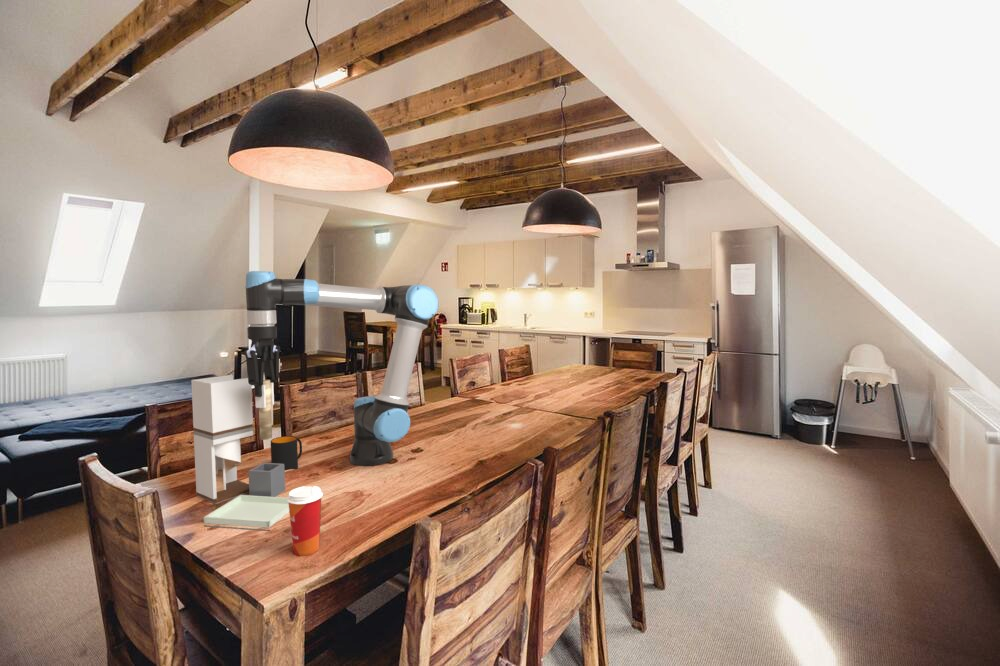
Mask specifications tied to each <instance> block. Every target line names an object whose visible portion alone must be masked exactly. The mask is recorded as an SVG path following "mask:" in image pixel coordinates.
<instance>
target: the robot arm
mask: <svg viewBox="0 0 1000 666" xmlns="http://www.w3.org/2000/svg"><path fill="white" fill-rule="evenodd" d="M276 277H277V276H276V274H275V272H274V271H267V270H251V271H248V272H247V273H246V275H245V288H244V289H245V298H246V300H245V301H246V321H247V322H246V324H247V325H249V326H248V327H246V329H247V339H248V340H250V341H251V344H250V348H249V349H245V350H244V351H243V353H244V356H245V359H246V362H245V363H246V370H247V371H246V372H247V378H248V383H249V384H250V385H252V386H254V396H255V397H254V398H255V400H254V401H255V408H256V409H259V408H266V391H265V385H263V380H270V389H271V406H274V405H275V394H274V391H275V389H274V388H275V384H274V383H277V382H278V379H279V376H280V372H279V371H280V370H279V369H280V352H281V351H280V350H281V346H280V345H275V342H274V340H276V339H277V337H278V332H277V331H278V329H277V326H276V324H277V305H295V306H312V307H313V306H315V307H326V308H340V309H341V308H342V309H353V310H356V309H357V310H358V309H359V310H369V311H375V312H376V313H377V314H384V315H385V314H386V315H391V316H395V317H394V321H395V322H396V324H397V328H396V329H395V330H396V331H395V335H394V339H393V343H392V348H391V350H390V351H391V352H390V355H389V359H388V362H387V363H388V364H387V367H386V371H385V376H384V380H383V383H382V388H381V392H380V393H379V394H377V395H369V396H362V397H357V398H355V400H354V403H353V417H354V420H353V423H354V440H353V444H352V448H351V449H350V453H349V454H350V455H349V462H350V463H351V464H352V465H355V466H363V467H367V466H369V467H370V466H378V465H383V464H386V463H388V462H390V461H392V460H393V458H394V450H393V447H392V444H391V443H395V442H397V441H400V440H402V438H404V437H405V436H406V435H407V434H408V432H409V429H410V427H411V418H410V415H409V413H408V411H409V407H410V403H409V401H408V399H407V394H408V391H409V387H410V383H411V379H412V374H413V370H414V366H415V361H416V357H417V355H418V354H417V353H418V350H419V347H420V346H419V345H420V341H421V337H422V333H423V331H424V330H425V329H427V328H428V327H429V324H430V323H429V322H430V319H431V318H433V317H434V316H435V315H436V314H437V311H438V309H439V299H438V296H437V294H436V292H435V290H433V289H432V288H431V287H429V286H427V285H425V284H416V283H415V284H409V285H399V286H398V285H397V286H378V287H377V288H370V287H359V286H358V287H357V286H346V285H338V284H330V283H329V284H328V283H327V284H326V283H318V282H317V280H315V279H307V278H276Z"/></svg>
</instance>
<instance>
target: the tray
mask: <svg viewBox="0 0 1000 666" xmlns="http://www.w3.org/2000/svg"><path fill="white" fill-rule="evenodd" d="M288 513H289V502H288V501H287V497H283V496H281V497H280V496H276V497H267V496H251V495H249V494H243V495H239V496H237V497H234V498H232V499H230V500H229V501H227V502H226V503H225V504H223V505H221V506H220V507H218V508H216V509H215V510H213V511H211V512H210V513H208V514H206V515H205V516H203V523H204V524H206V525H203V527H205V528H218V529H231V530H243V531H244V530H247V531H262V532H270V531H271V529H269V528H270V527H272V526H273V525H275V524H276V523H277V522H279V521H280V520H281V519H282V518H283V517H284V516H286V515H287V514H288ZM289 514H290V513H289ZM207 524H213V525H207ZM223 525H224V526H223ZM225 525H227V526H225ZM233 526H235V527H233ZM236 526H240V527H236ZM242 526H243V527H242ZM247 527H248V528H247ZM249 527H255V528H249ZM264 528H268V529H264Z"/></svg>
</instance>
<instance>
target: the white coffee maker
mask: <svg viewBox="0 0 1000 666" xmlns="http://www.w3.org/2000/svg"><path fill="white" fill-rule="evenodd" d="M252 386H253V385H250V384H249V383H248V377H245V378H238V379H234V375H233V374H228V375H220V376H219V375H218V376H213V377H205V378H198V379H197V378H196V379H191V403H192V404H191V405H192V425H193V445H194V446H193V447H194V449H193V450H194V469H195V487H196V488H195V489H196V490H195V491H196V493H195V494H196V496H197V497H199V498H201V499H204V500H206V501H208V502H210V503H212V504H215V505H217V504H221V503H222V502H225V501H228V500H229V501H230V500H232V499H234V498H236V497H238V496H239V495H247V494H248V493H249V483H247V482H244V481H241V480H238V469H237V468H238V466H239V465H241V463H242V457H241V454H242V452H241V439H243V438H248V437H251V436H254V420H253V419H254V417H253V414H254V413H253V389H252Z"/></svg>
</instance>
